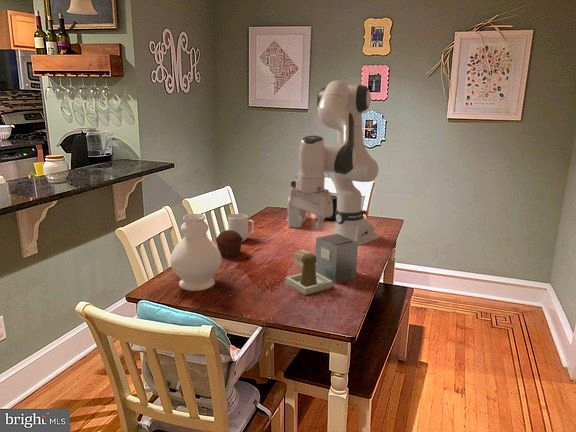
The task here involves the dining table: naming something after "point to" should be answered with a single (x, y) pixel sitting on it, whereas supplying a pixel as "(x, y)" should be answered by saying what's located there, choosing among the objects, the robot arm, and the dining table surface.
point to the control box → (336, 257)
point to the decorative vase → (195, 255)
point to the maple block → (299, 257)
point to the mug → (240, 224)
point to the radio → (293, 215)
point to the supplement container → (333, 218)
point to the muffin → (229, 243)
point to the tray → (321, 285)
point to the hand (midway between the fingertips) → (310, 224)
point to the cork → (308, 270)
